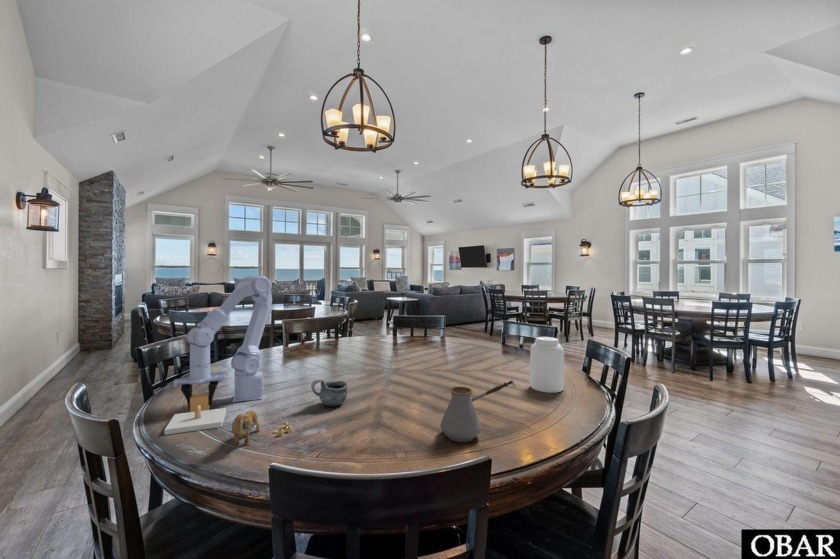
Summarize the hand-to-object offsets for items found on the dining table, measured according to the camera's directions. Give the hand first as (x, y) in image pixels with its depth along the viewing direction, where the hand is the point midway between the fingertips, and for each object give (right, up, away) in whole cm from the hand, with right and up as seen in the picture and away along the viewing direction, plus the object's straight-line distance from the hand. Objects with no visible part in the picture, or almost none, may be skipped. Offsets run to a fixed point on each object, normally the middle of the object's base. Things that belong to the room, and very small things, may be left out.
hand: (200, 405), depth 120 cm
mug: (+41, -2, +5) cm, 42 cm away
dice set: (+33, -3, -16) cm, 37 cm away
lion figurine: (+25, -2, -21) cm, 33 cm away
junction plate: (+5, -2, -10) cm, 12 cm away
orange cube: (0, -1, 0) cm, 1 cm away
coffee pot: (+88, -2, -17) cm, 90 cm away
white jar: (+122, -2, +25) cm, 124 cm away
